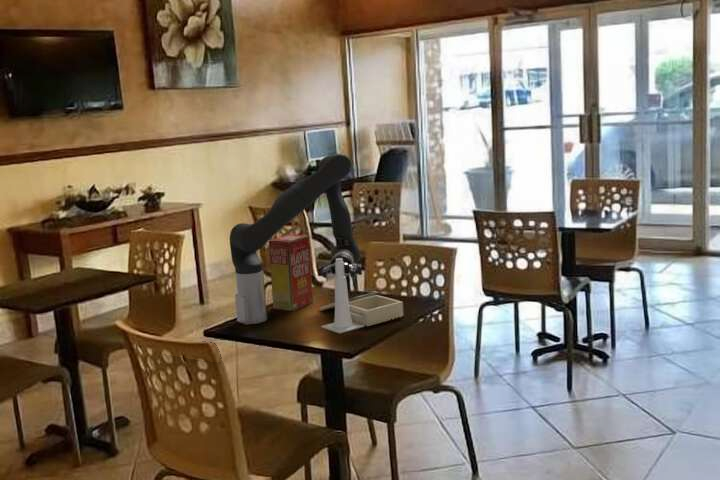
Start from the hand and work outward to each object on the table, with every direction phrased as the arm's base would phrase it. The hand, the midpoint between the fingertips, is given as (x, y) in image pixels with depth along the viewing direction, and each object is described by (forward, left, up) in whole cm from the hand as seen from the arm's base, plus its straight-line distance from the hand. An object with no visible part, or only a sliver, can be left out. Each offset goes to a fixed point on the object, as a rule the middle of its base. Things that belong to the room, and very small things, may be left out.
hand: (338, 274), depth 246 cm
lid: (+15, +18, -14) cm, 27 cm away
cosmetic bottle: (+2, +2, -18) cm, 18 cm away
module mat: (+1, +1, -18) cm, 18 cm away
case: (+15, +3, -18) cm, 23 cm away
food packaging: (+5, +37, -18) cm, 41 cm away
